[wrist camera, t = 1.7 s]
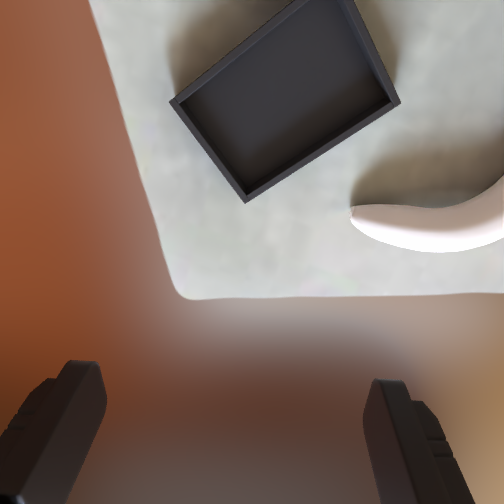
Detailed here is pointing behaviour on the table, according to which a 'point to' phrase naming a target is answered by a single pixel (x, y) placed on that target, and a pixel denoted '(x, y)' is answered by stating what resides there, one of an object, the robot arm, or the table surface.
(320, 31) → the tray
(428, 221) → the banana
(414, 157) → the table surface
